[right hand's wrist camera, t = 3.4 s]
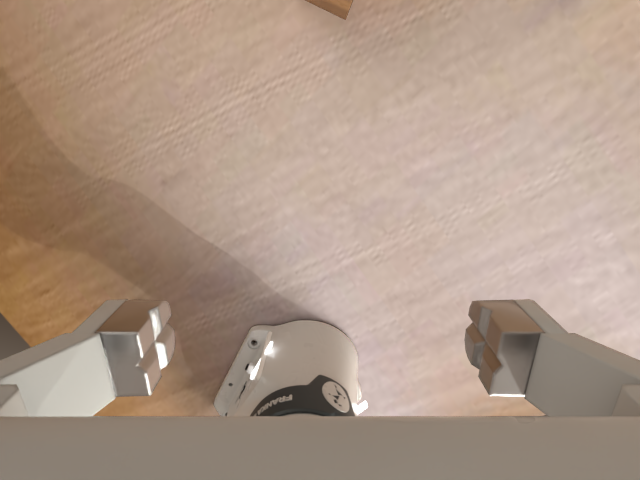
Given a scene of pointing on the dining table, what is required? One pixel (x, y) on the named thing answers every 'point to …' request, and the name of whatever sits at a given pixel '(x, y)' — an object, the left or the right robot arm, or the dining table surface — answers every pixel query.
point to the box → (334, 6)
